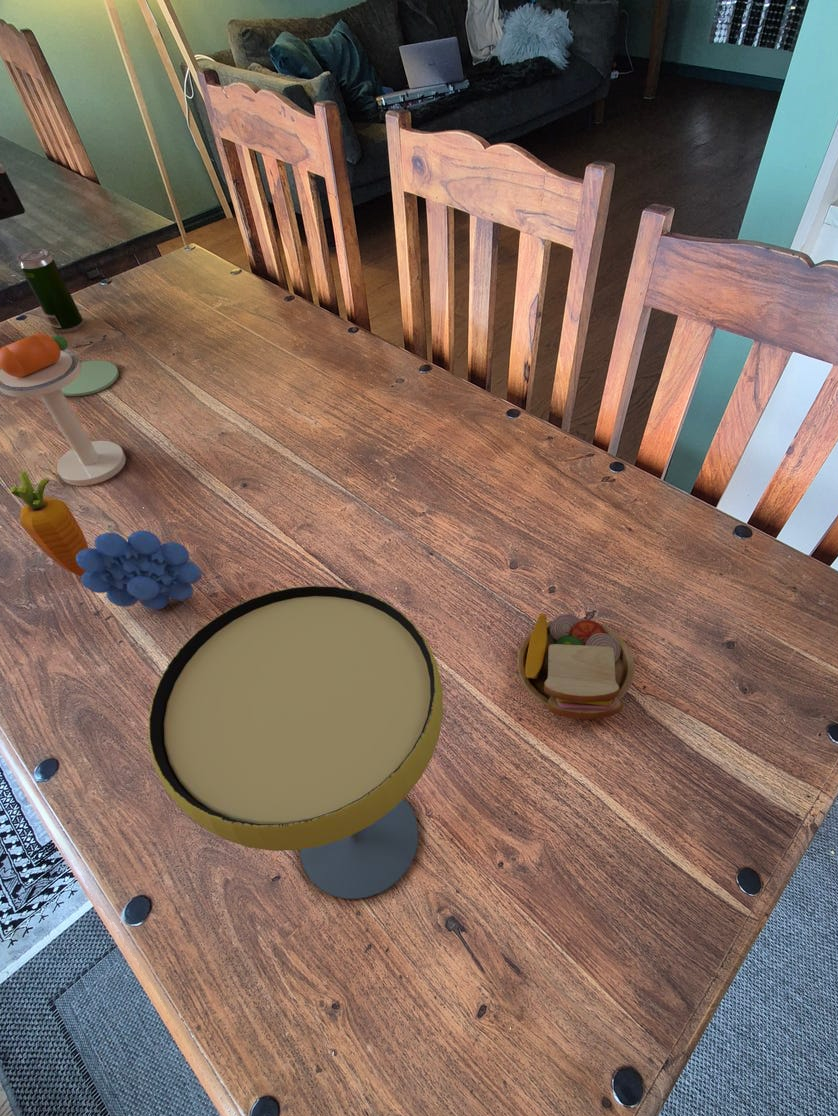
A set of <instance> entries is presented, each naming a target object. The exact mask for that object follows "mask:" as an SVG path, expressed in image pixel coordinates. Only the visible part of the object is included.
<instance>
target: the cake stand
mask: <svg viewBox="0 0 838 1116" xmlns="http://www.w3.org/2000/svg"><path fill="white" fill-rule="evenodd" d="M60 352H61V353H60V358H59V360H58V361H57V362H56V363H54V364H52V365H50V366H47V367H45V368H43V369H40V370H38V371H36V372H33V373H31V374H29V375H26V376H23V377H14V376H11V375H9V374H7V373H5V372H4V371H3V370H2V369H1V368H0V392H1V393H2V394H3V395H5V396H7V397H11V398H12V397H13V398H23V399H24V398H34V397H39V396H40V398H41V400H42V402H43V403H44V405H45V407H46V409H47V410H48V412H49V414H50V415H51V417H52V418H53V420H54V422H55V424H56V425H57V426H58V429H59V431H60V432H61V433H62V435H63V437H64V438H65V440H66V441H67V443H68V445H69V447H70V450H68V451H66V452H65V453H64V454H63V455H62V456H61V457H60V458H59V460H58V461H57V463H56V472H57V474H58V475H59V477H60V478H61V480H62V481H63V482H64V483H66V484H68V485H72V486H78V487H87V486H93V485H97V484H100V483H102V482H105V481H108V480H110V479H111V478H113V477H114V476H116V475H117V474H119V473H120V472H121V470H122V469H123V468H124V467H125V464H126V460H127V457H126V454H125V452H124V450H123V448H122V447H121V446H120V445H119V444H117V443H116V442H114V441H108V440H95V441H94V440H93V441H91V439H90V438H89V436H88V433H87V432H86V431H85V430H84V427H83V426H82V424H81V422H80V420H79V418H78V417H77V415H76V413H75V411H74V410H73V408H72V406H71V405H70V403H69V401H68V400H67V398H66V395H64V394H63V392H62V391H61V388H63V387H65V386H66V385H68V384H70V383H71V382H72V381H74V380H75V379H76V378H77V377H78V375H79V374H80V372H81V368H82V366H81V361H80V359H79V357H78V355H77V354H76V353H75V352H74V351H72V350H71V349H68V348H66V349H65V350H63V351H60Z"/></svg>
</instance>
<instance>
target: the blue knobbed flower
mask: <svg viewBox="0 0 838 1116" xmlns="http://www.w3.org/2000/svg"><path fill="white" fill-rule="evenodd" d="M189 560H190V552H189V551H188V549H187V548H186V546H184V545H183V544H181V543H179V542H176V541H175V542H174V541H168V542H165V543H162V542H161V540H160V539H159V537H158V536H157V535H156V534H154V533H153V532H151V531H148V530H142V529H140V530H136V531H134V532H131V533H130V534H129V535H128V537H127V539H126V538H125V537H123V536H122V535H121V534H119V533H114V532H105V533H102V534H99V535H97V537H95V539H94V547H88V548H87V549H84V550H82V551H80V552H79V553H78V554H77V555H76V562H77V564H78V565H79V566H80V567H81V568H82V569H84V570H85V571H86V572H85V573H84V574H83V575H82V576H80V577H81V583H82V585H83V586H84V587H85V588H86V589H87V590H89V591H91V592H93V593H97V594H105V593H106V598H107V599H108V600H109V602H110V603H112V604H114V605H116V607H121V608H129V607H132V606H134V605H136V604H137V602H138V601H139V603H140V604H141V606H143V607H145V608H146V609H149V610H153V611H157V610H159V611H160V610H162V609H164V608H166V607H167V606H168V605H169V604H170V599H171V600H173V601H177V602H182V601H186V600H188V599H190V598H191V597H192V596H193V594H194V587H193V586H192V584H195V583H197V582H199V581H200V579H201V578H202V570H201V569H200V567H199V566H198V565H197V564H196V563H194V562H193V561H189Z"/></svg>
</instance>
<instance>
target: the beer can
mask: <svg viewBox="0 0 838 1116" xmlns="http://www.w3.org/2000/svg"><path fill="white" fill-rule="evenodd" d="M16 260H17V262H18V267H19V269H20V271H21V272H22V275H23V276H24V278H25V280H26V282H27V283H28V285H29V287H30V289H31V291H32V293H33V295H34V296H35V298H36V300H37V302H38V304H39V306H40V307H41V309H42V311H43V313H44V315H45V317H46V318H47V320H48V322H49V324H50V326H51V328H52V329H53V330H55V332H56V333H61V334H67V333H72V332H75V331H77V330H79V329H81V328H82V327H83V326H84V319H83V317H82V315H81V312H80V309H79V308H78V306H77V304H76V302H75V300H74V298H73V296H72V294H71V292H70V290H69V288H68V285H67V284H66V282H65V280H64V278H63V276H62V274H61V271H60V270H59V268H58V266H57V264H56V262H55V260H54V258H53V256H51V254H50V253H49V252H48V250H47V249H44V248H34V249H29V250H25V251H23V252H20V253H19V254H18V255H17V256H16Z"/></svg>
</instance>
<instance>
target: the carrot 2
mask: <svg viewBox="0 0 838 1116" xmlns="http://www.w3.org/2000/svg"><path fill="white" fill-rule="evenodd" d="M19 478H20V480H21V483H22V485H18V487H17V486H12V487H10V494H11V495H13V496H16V497H18V498H20V499H21V500H22V501H23V502H24V503H25V505H24V506H23V507H22V508H21V509H20V517H19V523H20V525H21V527H22V528H23V529H24V531H25V532H26V533H27V535H29V537H30V538H31V539H32V541H33V542H34V543H35V544H36V545H37V546H38V548H39V549H41V551H42V552H43V553H44V554H45V555H47V557H49V558H50V559H51V560H52V561H53V562H54V563H56V565H58V566H60V568H63V569H64V570H66V571H67V572H69V573H71V574H73V575H76V576H77V577H78V576H79V577H81V576H82V575H83V574H84V573H85V572H86V571H85V570H84V569H82V568H81V567H80V566H79V565H78V564H77V562H76V555H77V554H78V553H79V552H80V551H82V550H84V549H87V548H89V545H88V542H87V540H86V536H85V535H84V532H83V530H82V529H81V526H80V525H79V523H78V521H77V520H76V517H75V516H74V514H73V513H72V511H71V510H70V508H69V506H68V504H67V503H66V502H65V501H63V500H60V499H58V498H54V497H51V496H44V491H45V488H46V486H47V485H48V484H49V483H50V482H51V480H50V479H49V478H43V479H42V480H40V481H39V482H38V485H37V488H36V490H35V489H34V486H33V483H32V482H31V480H30V477H29V476H28V474H27V472H26V471H24V472H23V471H22V472H21V473H19Z"/></svg>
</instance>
